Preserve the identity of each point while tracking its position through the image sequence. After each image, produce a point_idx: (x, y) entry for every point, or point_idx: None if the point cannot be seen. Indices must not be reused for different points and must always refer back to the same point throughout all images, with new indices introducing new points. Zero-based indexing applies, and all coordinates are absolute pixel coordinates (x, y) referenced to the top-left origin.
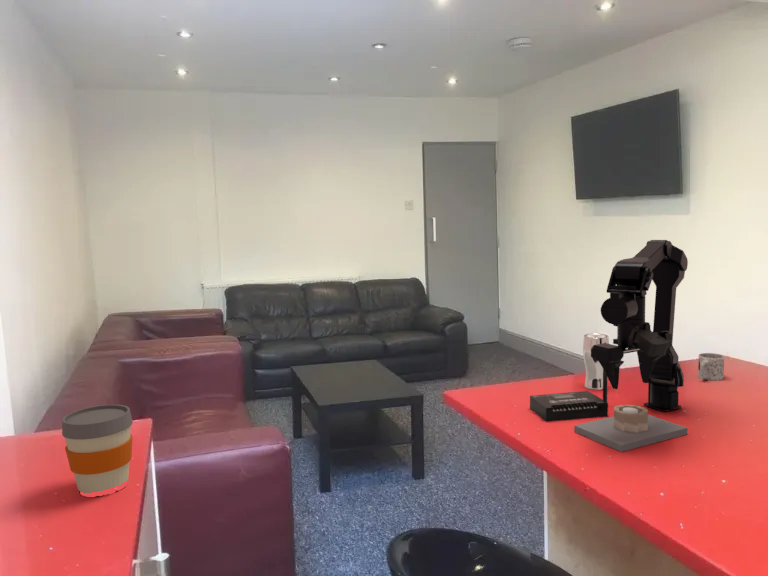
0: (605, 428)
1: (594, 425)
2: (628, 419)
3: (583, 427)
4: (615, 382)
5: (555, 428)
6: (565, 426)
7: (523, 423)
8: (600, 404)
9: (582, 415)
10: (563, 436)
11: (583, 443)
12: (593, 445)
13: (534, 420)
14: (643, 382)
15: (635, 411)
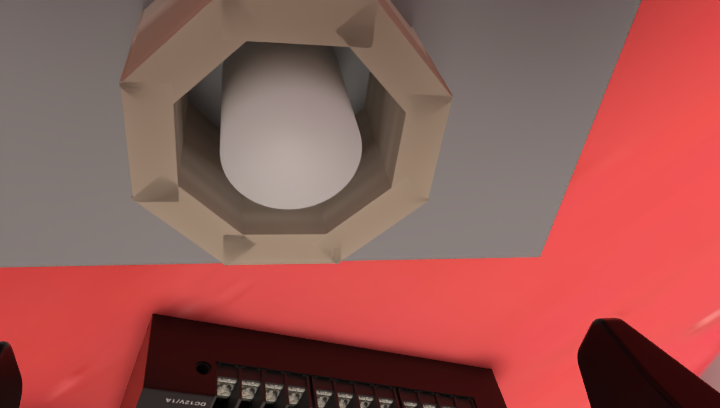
0: (456, 138)
1: (456, 207)
2: (418, 48)
3: (535, 214)
4: (713, 390)
5: (545, 298)
6: (484, 298)
7: (581, 385)
8: (198, 387)
9: (313, 353)
10: (625, 211)
11: (663, 87)
12: (661, 32)
13: (515, 393)
14: (18, 374)
15: (299, 92)
